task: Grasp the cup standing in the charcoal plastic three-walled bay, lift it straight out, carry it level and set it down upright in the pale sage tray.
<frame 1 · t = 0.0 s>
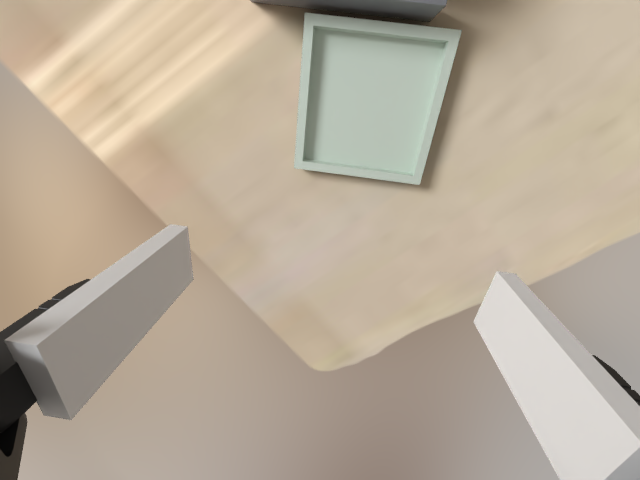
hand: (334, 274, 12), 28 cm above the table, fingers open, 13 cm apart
tray: (367, 106, 35), on the table
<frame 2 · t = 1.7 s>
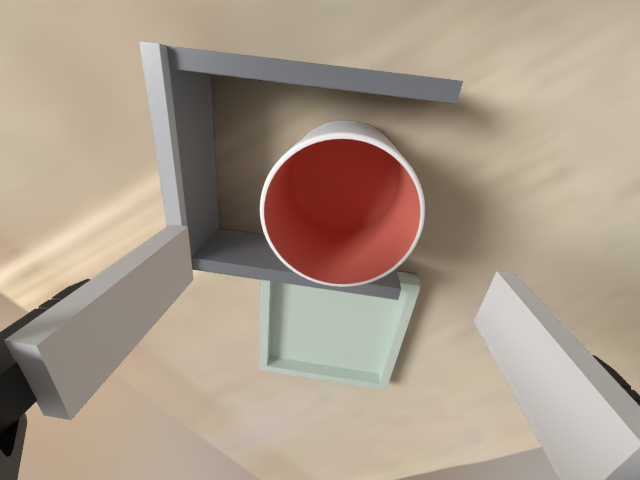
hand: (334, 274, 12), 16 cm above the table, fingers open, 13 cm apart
cup: (343, 177, 26), on the table
tray: (331, 320, 34), on the table
bay: (322, 175, 26), on the table
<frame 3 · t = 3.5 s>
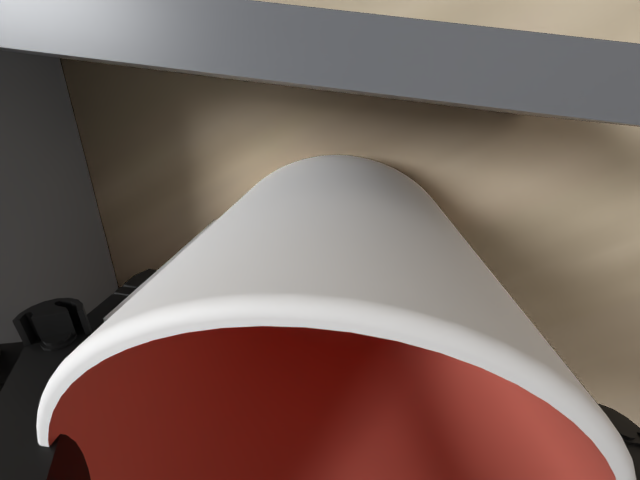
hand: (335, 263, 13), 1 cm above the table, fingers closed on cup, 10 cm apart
cup: (336, 252, 14), on the table, touching gripper
bay: (296, 248, 14), on the table
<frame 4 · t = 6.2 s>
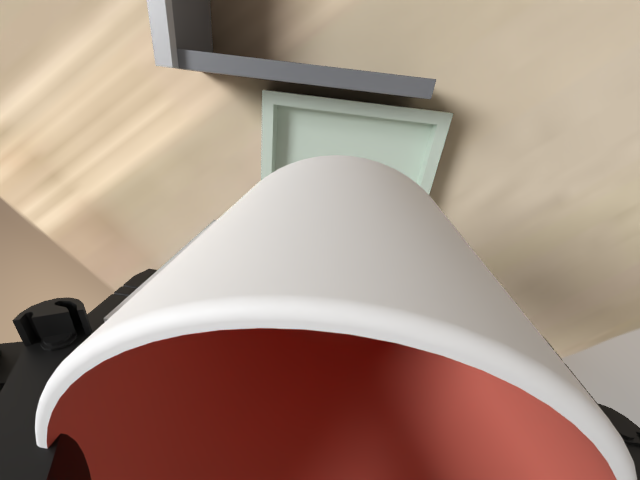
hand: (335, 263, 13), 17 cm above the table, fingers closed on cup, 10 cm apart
cup: (336, 253, 14), point 16 cm above the table, touching gripper
tray: (343, 186, 29), on the table
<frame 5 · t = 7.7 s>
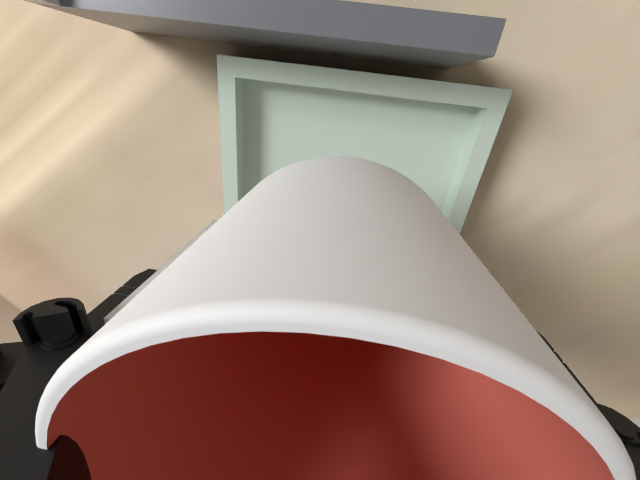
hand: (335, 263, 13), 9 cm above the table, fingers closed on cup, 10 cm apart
cup: (336, 253, 14), point 8 cm above the table, touching gripper
tray: (341, 200, 21), on the table
when the fingers open (3 cm above the table, at t = 9.1 s): cup drops 2 cm, resting on tray.
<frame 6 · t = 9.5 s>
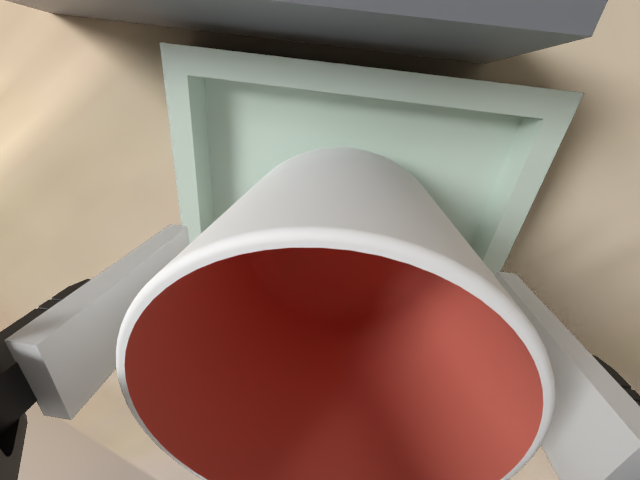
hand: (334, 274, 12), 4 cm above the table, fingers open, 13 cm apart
cup: (338, 236, 16), resting on tray
tray: (338, 234, 16), on the table
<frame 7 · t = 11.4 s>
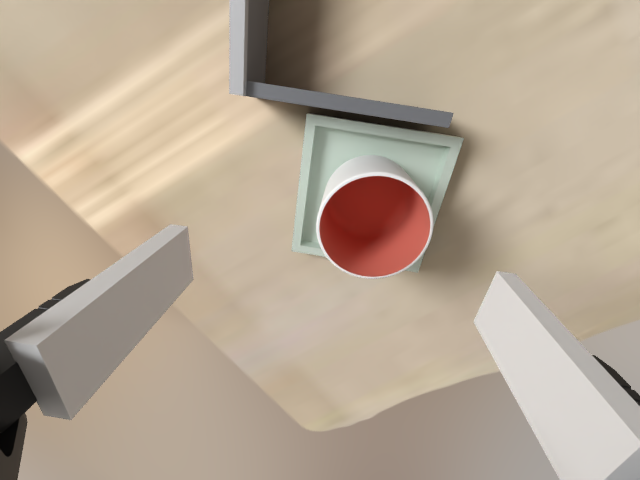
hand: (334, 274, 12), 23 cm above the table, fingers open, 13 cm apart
cup: (367, 196, 34), resting on tray
tray: (366, 195, 34), on the table
bay: (373, 17, 27), on the table
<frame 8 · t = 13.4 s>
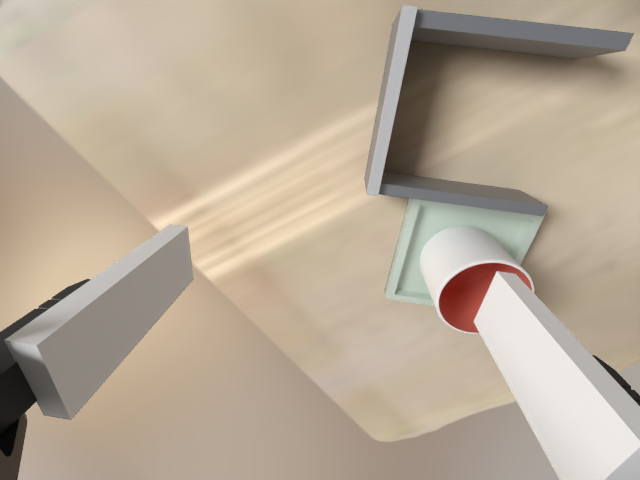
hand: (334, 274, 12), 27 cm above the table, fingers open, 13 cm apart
cup: (454, 254, 40), resting on tray
tray: (453, 253, 41), on the table
bay: (473, 122, 33), on the table
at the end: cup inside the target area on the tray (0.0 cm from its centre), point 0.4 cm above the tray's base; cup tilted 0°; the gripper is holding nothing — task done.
